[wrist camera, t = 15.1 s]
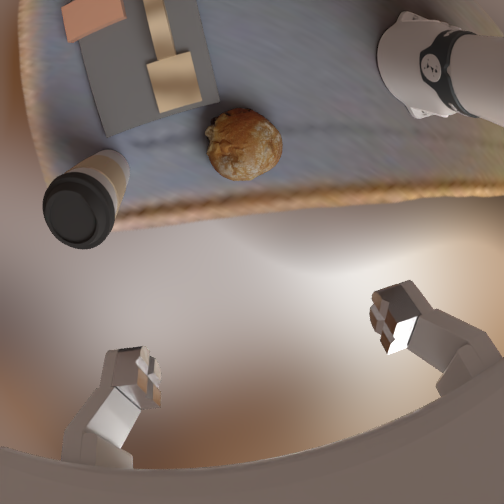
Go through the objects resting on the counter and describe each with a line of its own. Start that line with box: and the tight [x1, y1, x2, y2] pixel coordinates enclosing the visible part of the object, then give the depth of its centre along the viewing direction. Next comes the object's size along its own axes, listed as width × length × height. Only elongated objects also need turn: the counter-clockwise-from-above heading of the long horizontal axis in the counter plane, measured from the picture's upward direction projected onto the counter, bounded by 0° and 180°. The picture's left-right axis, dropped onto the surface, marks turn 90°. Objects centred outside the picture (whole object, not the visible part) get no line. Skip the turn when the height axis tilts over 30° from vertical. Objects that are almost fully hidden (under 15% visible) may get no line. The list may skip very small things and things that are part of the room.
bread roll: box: [205, 108, 283, 181], centre depth 37 cm, size 10×10×8 cm
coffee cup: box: [43, 150, 130, 249], centre depth 31 cm, size 9×9×15 cm
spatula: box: [143, 0, 202, 113], centre depth 25 cm, size 23×6×2 cm, turn 10°
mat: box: [71, 0, 220, 138], centre depth 27 cm, size 16×23×1 cm
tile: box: [61, 0, 127, 43], centre depth 22 cm, size 2×6×8 cm
